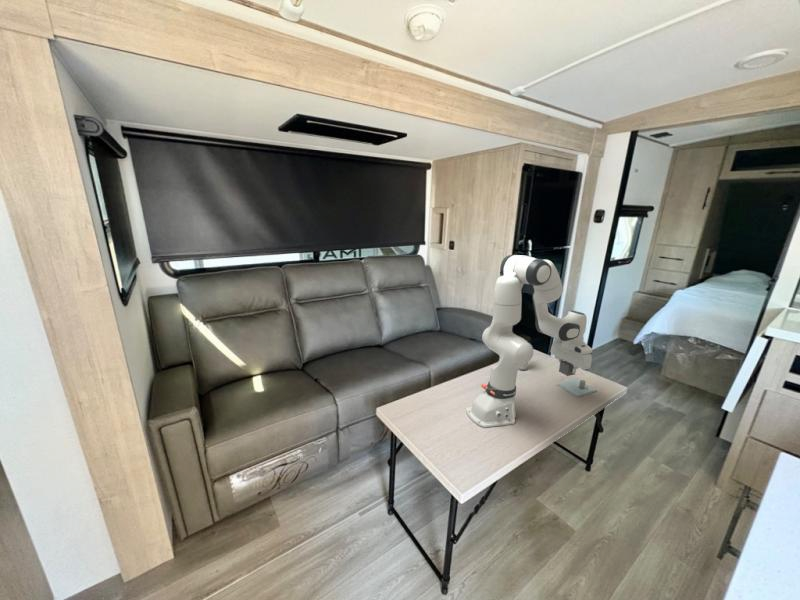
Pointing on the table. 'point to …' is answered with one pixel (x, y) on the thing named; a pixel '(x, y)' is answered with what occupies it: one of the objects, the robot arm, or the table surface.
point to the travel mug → (528, 339)
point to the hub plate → (577, 387)
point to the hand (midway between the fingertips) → (567, 369)
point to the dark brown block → (566, 368)
